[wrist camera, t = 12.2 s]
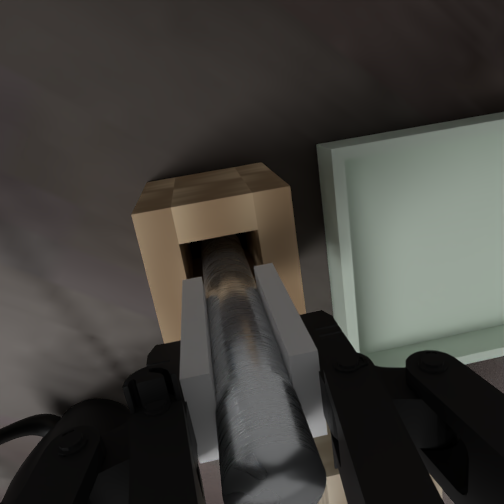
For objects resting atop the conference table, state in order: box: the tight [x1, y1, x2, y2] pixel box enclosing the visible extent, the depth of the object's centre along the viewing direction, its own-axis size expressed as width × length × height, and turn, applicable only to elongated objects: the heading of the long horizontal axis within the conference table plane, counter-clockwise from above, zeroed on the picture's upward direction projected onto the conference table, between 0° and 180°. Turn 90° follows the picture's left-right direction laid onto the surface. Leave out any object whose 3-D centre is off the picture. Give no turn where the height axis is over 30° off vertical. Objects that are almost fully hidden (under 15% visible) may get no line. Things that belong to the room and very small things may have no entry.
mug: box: [0, 399, 131, 504], centre depth 27 cm, size 8×12×10 cm
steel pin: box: [201, 234, 327, 504], centre depth 17 cm, size 2×2×16 cm
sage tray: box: [316, 112, 504, 367], centre depth 29 cm, size 16×16×3 cm
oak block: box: [131, 162, 306, 344], centre depth 24 cm, size 7×7×8 cm
